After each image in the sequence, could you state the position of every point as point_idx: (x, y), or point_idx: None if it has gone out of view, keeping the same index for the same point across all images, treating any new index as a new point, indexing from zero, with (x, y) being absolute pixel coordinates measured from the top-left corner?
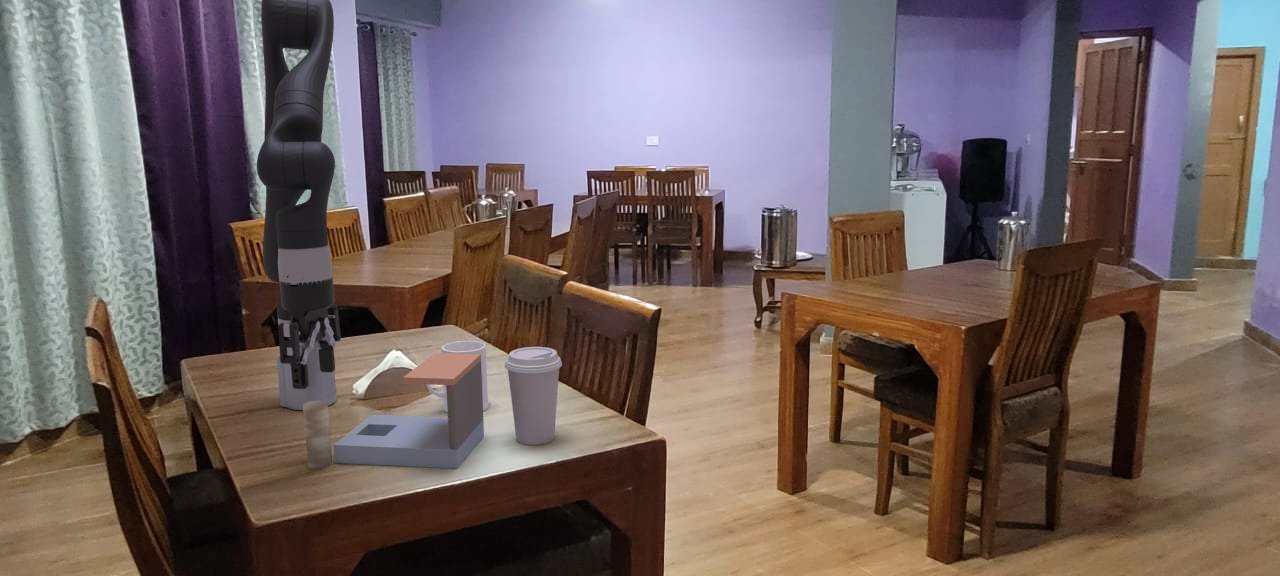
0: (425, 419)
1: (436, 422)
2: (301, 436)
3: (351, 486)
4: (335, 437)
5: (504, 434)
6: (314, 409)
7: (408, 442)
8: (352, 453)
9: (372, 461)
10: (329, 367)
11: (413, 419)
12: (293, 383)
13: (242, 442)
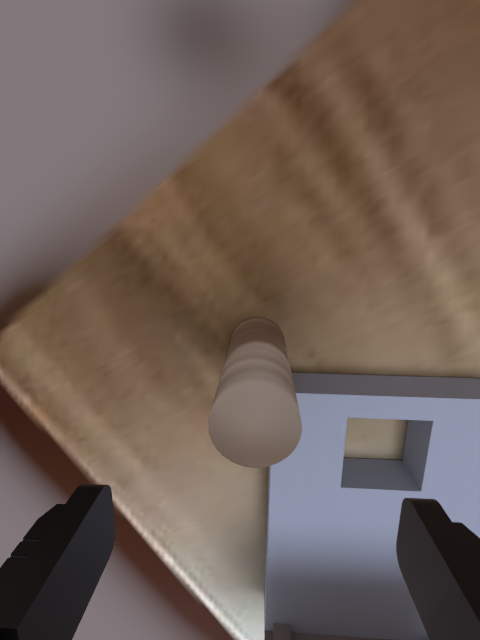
0: None
1: None
2: (454, 200)
3: (160, 448)
4: (441, 301)
5: None
6: (212, 438)
7: (301, 545)
8: None
9: None
10: (409, 567)
11: (465, 515)
12: (41, 521)
13: (408, 28)
